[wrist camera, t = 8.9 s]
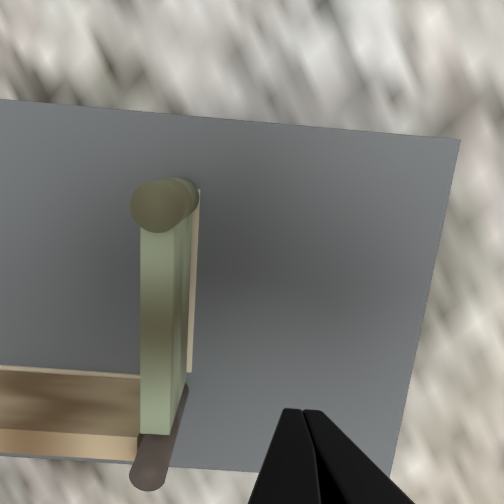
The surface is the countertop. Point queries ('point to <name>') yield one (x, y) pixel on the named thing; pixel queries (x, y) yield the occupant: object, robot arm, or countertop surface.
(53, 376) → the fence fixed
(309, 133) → the card
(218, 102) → the countertop surface
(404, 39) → the countertop surface
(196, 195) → the folding panel
